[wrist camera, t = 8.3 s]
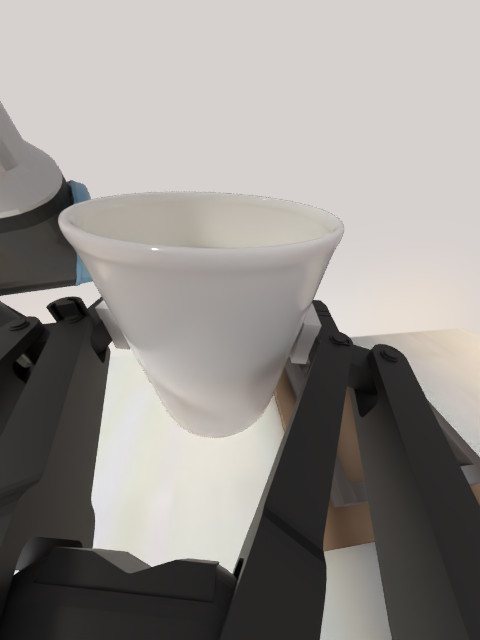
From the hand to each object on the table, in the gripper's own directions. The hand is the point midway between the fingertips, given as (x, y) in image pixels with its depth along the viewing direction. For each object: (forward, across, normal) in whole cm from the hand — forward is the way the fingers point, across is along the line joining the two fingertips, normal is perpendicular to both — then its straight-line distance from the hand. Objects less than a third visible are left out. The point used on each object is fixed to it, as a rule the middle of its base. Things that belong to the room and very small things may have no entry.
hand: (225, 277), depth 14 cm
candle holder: (-5, 0, -7) cm, 8 cm away
